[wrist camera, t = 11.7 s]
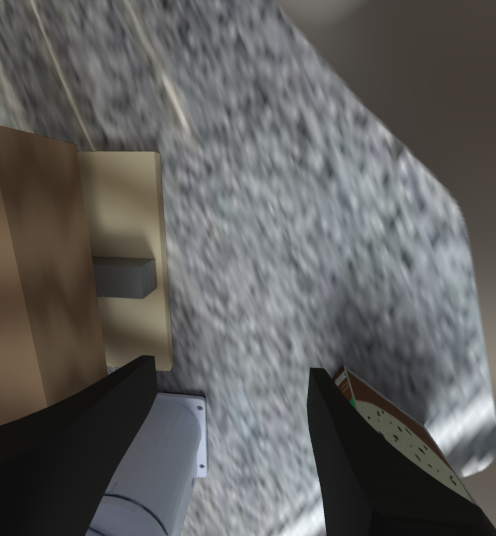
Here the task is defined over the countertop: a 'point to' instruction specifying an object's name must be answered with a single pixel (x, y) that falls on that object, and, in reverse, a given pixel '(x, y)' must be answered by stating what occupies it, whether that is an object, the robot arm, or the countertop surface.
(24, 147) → the walnut bar
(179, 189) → the countertop surface
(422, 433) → the food container
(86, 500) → the robot arm
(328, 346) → the countertop surface
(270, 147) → the countertop surface
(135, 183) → the balance stand
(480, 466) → the countertop surface
